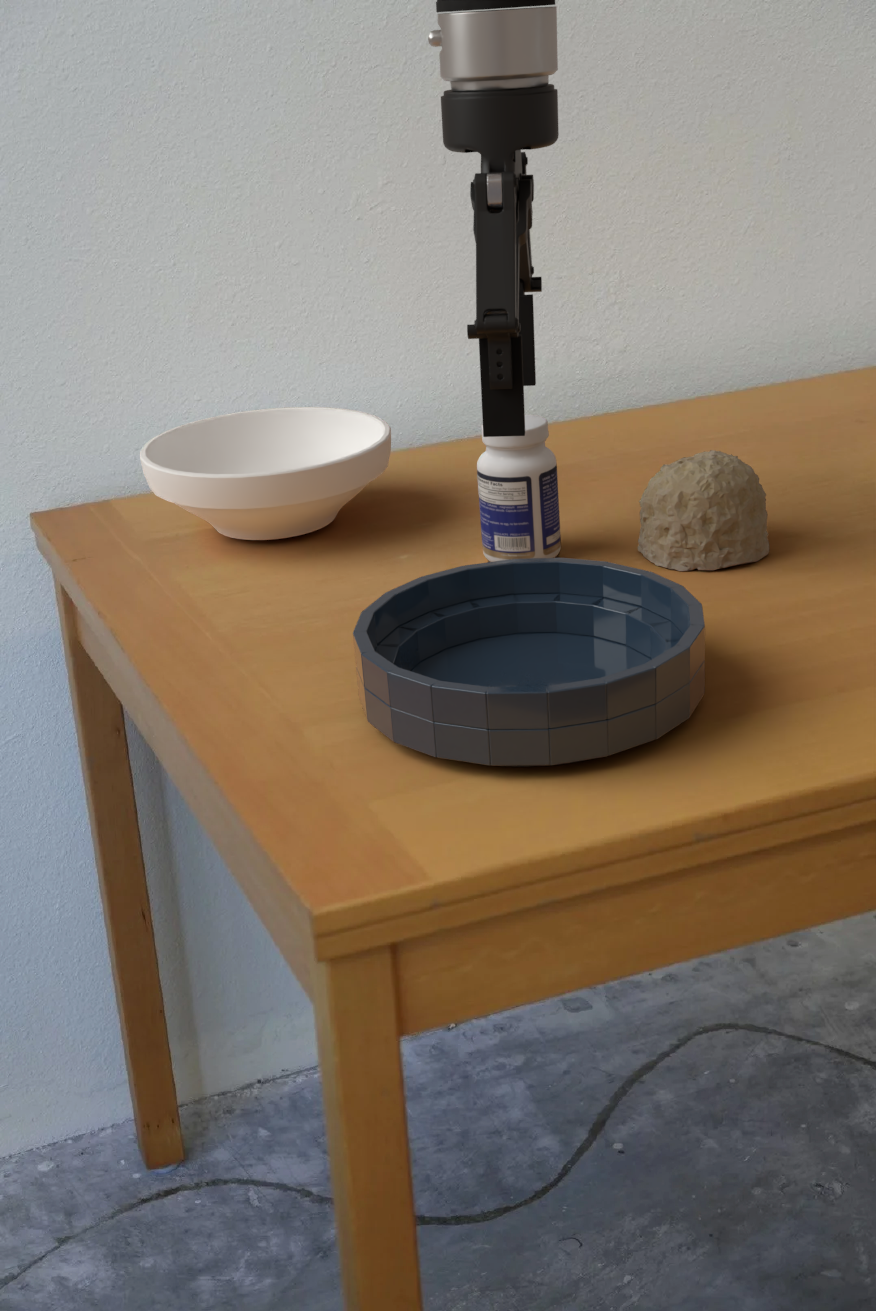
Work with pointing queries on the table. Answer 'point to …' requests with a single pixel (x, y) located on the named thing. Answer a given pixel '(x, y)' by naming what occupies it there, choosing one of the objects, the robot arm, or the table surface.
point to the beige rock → (704, 514)
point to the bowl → (268, 467)
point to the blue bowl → (530, 661)
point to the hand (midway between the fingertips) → (511, 409)
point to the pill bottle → (519, 495)
